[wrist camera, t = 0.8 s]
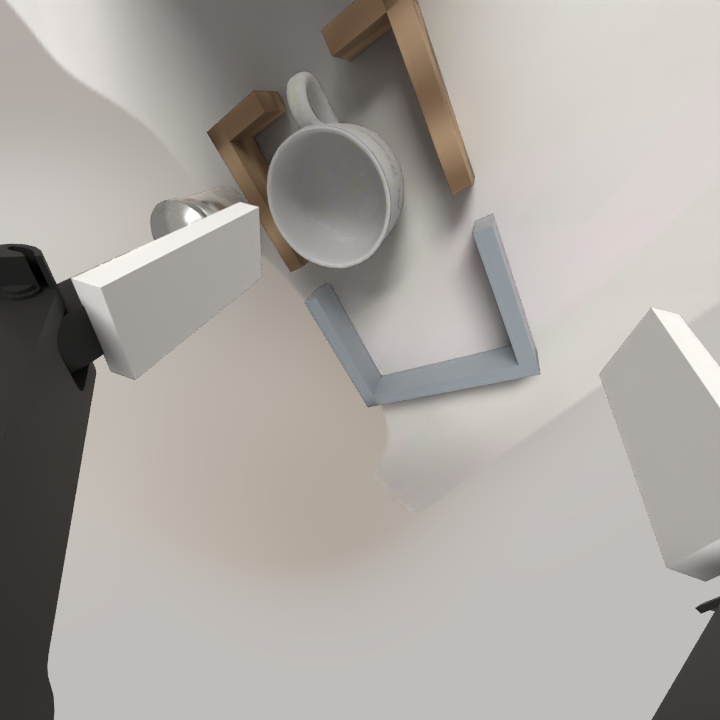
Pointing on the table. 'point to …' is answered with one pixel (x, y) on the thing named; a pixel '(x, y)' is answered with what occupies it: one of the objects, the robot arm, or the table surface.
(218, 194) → the sugar tin
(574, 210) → the table surface
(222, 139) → the wooden u-shaped bracket
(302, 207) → the teacup
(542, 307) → the table surface
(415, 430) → the table surface
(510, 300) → the dock
